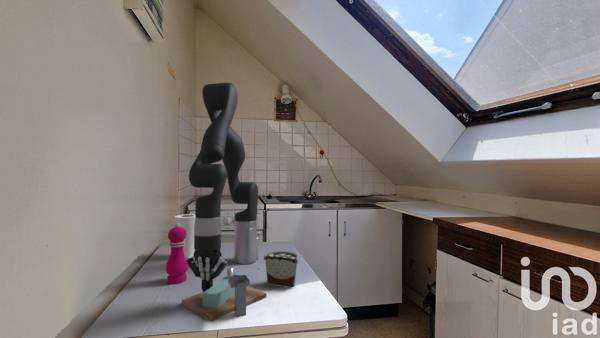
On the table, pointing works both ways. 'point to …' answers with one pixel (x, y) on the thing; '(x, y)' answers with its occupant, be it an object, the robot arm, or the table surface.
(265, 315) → the table surface
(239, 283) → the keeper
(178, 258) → the pepper mill
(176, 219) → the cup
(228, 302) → the board
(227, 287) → the teal bar with hole
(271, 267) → the food container
